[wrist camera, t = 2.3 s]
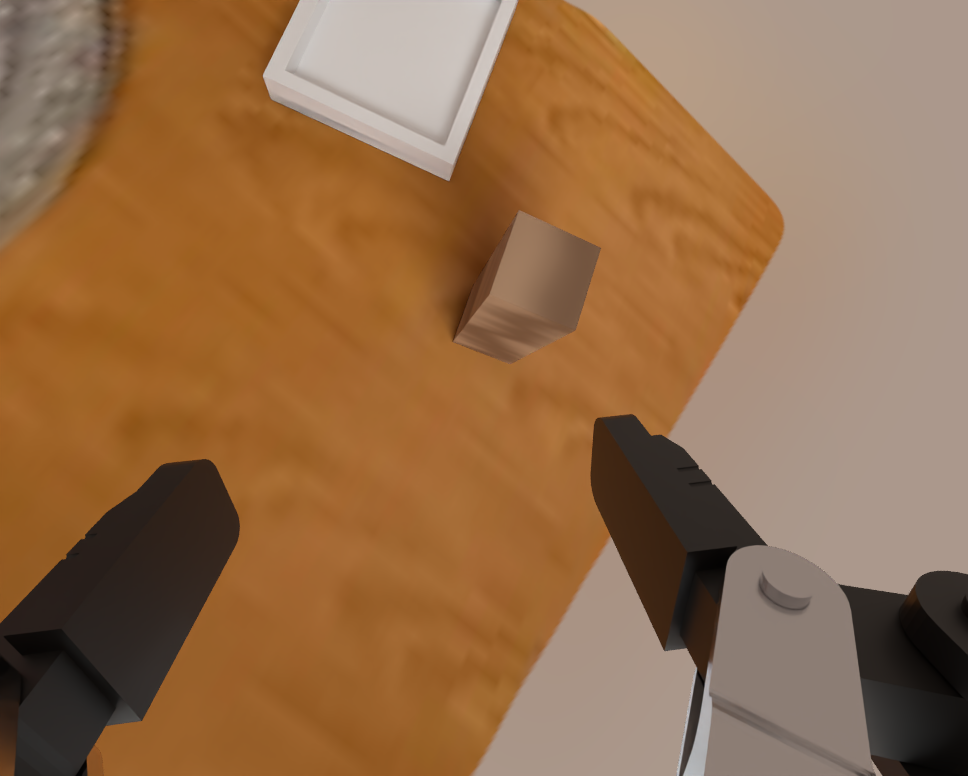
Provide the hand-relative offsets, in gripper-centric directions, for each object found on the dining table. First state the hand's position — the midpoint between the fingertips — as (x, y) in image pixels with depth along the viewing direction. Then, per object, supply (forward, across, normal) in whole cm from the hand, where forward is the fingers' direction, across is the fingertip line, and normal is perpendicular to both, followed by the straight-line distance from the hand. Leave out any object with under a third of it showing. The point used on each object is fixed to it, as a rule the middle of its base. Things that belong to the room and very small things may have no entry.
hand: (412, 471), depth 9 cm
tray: (+32, +1, -13) cm, 35 cm away
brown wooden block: (+22, -4, +5) cm, 23 cm away
